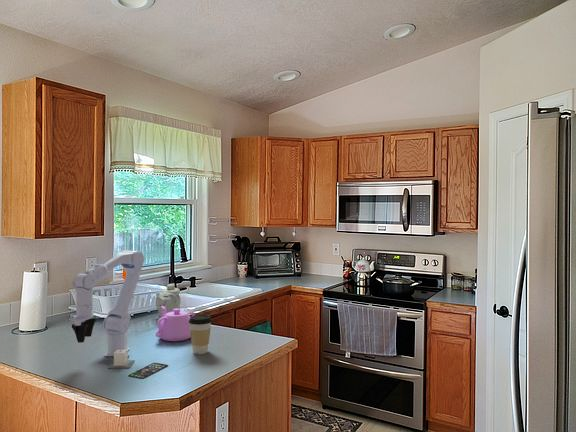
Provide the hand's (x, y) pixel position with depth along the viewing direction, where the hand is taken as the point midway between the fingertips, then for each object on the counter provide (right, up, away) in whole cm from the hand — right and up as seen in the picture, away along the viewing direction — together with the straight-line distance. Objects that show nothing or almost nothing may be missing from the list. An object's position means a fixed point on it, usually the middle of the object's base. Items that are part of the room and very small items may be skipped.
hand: (84, 339), depth 173 cm
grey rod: (+13, -10, +9) cm, 19 cm away
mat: (+14, -11, +1) cm, 17 cm away
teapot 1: (+12, -9, +75) cm, 77 cm away
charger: (+14, -10, +1) cm, 17 cm away
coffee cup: (+42, -11, +18) cm, 46 cm away
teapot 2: (+25, -10, +39) cm, 48 cm away
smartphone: (+26, -11, -5) cm, 29 cm away
